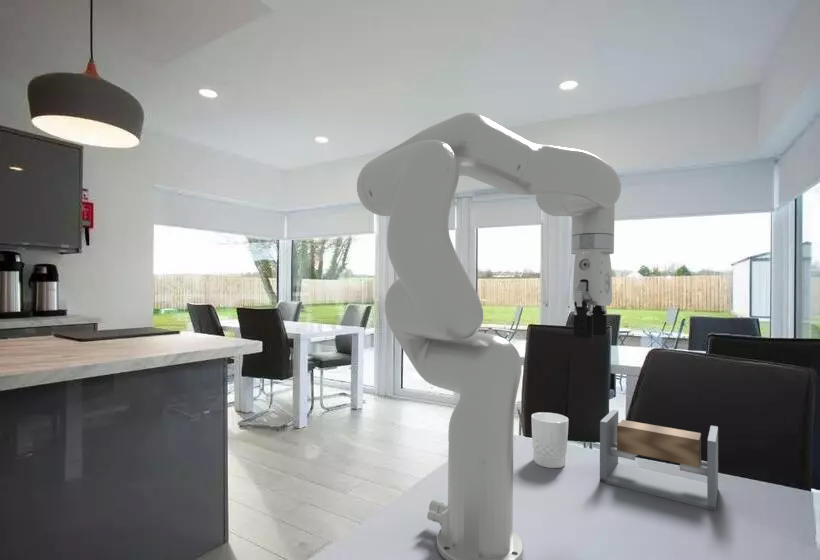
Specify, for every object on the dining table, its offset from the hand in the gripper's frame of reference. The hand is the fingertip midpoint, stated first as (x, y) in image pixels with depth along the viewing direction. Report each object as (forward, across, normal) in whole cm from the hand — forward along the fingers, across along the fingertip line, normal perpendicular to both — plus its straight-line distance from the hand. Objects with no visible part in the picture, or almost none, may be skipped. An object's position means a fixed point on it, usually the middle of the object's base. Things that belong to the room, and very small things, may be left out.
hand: (590, 336), depth 84 cm
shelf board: (+23, +13, -10) cm, 28 cm away
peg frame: (+29, +14, -10) cm, 34 cm away
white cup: (+30, +11, +11) cm, 34 cm away
